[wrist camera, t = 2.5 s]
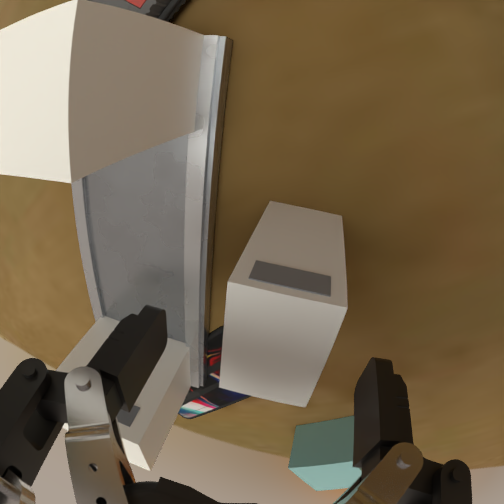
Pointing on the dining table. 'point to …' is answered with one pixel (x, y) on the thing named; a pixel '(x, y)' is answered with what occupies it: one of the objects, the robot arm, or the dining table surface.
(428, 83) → the dining table surface
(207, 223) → the grey rectangular tray
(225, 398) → the smartphone
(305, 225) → the block
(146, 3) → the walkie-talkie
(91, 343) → the module
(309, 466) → the block
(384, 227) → the dining table surface
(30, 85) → the block
